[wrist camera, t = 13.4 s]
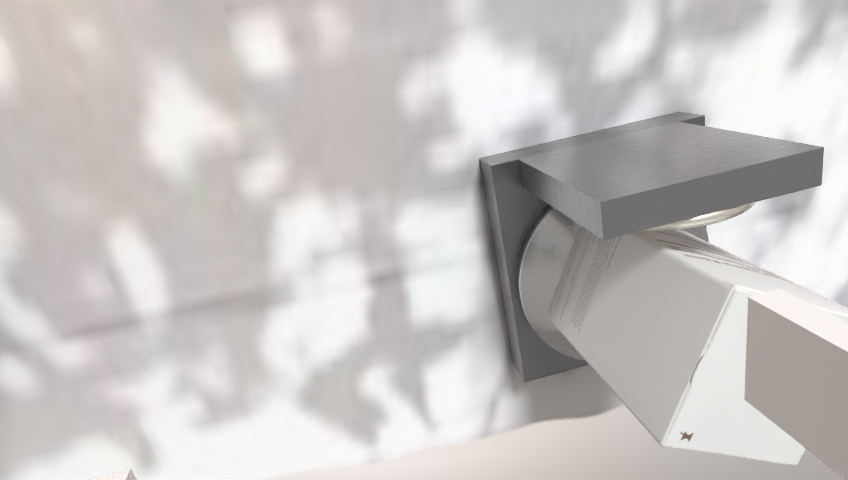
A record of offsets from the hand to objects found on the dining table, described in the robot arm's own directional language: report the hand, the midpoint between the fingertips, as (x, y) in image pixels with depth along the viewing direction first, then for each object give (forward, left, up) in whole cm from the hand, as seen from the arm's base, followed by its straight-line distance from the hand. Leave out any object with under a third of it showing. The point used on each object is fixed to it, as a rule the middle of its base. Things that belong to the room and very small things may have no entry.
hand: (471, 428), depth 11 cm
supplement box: (+16, -11, -26) cm, 32 cm away
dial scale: (+16, -10, -29) cm, 35 cm away
